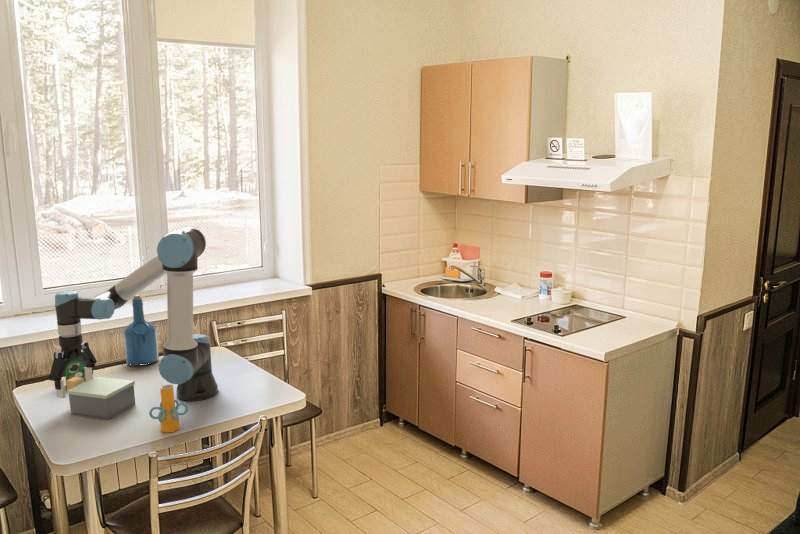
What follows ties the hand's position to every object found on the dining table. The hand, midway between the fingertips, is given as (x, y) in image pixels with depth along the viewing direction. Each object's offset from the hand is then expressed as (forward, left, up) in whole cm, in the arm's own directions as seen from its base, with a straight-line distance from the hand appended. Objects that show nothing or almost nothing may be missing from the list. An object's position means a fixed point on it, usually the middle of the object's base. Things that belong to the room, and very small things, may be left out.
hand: (75, 390), depth 242 cm
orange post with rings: (-45, +7, -6) cm, 46 cm away
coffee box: (+18, -19, -6) cm, 27 cm away
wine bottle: (+10, -48, -6) cm, 49 cm away
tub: (-12, 0, -6) cm, 13 cm away
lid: (-9, 0, 0) cm, 9 cm away
